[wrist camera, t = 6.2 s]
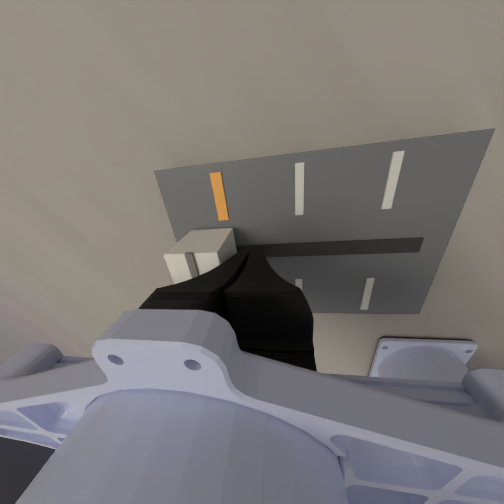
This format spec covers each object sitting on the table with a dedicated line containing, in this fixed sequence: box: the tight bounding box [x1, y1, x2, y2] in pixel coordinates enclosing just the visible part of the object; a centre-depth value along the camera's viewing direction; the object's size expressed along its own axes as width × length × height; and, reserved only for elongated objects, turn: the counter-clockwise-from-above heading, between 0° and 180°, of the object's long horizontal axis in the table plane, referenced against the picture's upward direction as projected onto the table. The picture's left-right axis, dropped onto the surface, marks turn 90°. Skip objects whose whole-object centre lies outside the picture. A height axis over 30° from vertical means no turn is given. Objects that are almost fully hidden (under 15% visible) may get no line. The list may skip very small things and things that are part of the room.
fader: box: [163, 228, 237, 284], centre depth 12 cm, size 4×3×4 cm
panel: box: [154, 128, 495, 314], centre depth 14 cm, size 12×18×2 cm, turn 96°
